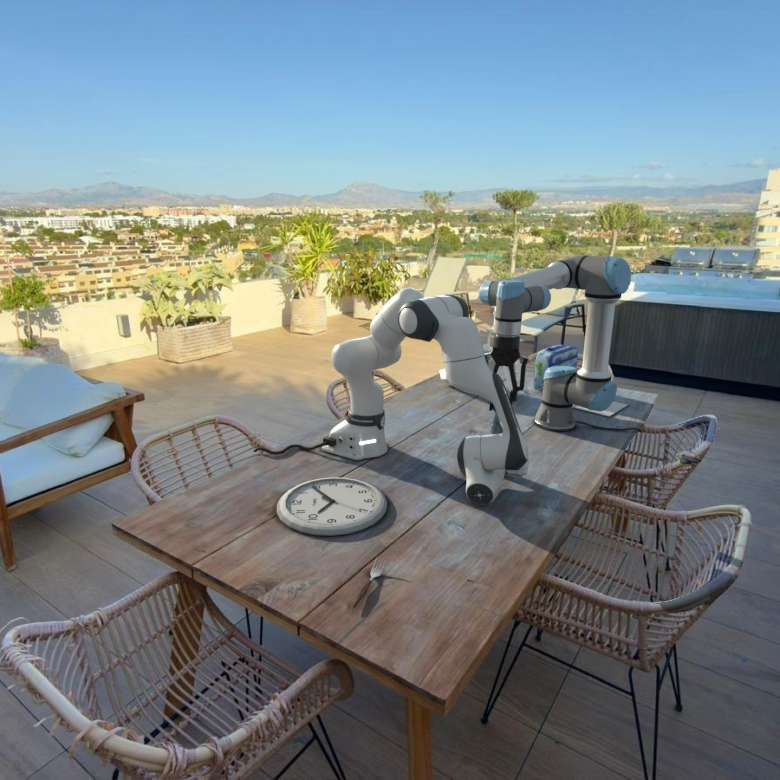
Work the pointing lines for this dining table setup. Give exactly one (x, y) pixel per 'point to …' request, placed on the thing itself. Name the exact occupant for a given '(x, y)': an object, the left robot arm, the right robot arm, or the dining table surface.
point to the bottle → (496, 425)
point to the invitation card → (609, 411)
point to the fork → (374, 573)
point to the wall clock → (331, 506)
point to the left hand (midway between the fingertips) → (497, 451)
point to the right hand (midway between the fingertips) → (500, 410)
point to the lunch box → (553, 361)
